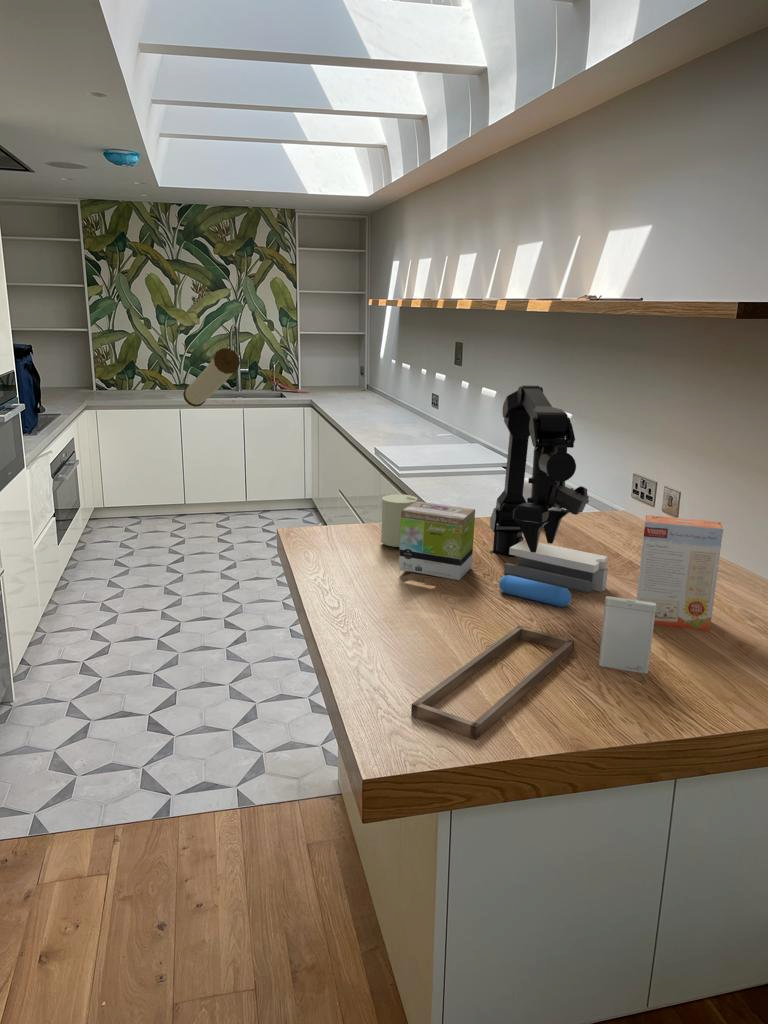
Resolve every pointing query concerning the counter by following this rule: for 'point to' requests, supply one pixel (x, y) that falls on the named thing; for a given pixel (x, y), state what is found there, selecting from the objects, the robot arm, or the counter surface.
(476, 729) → the frame
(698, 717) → the counter surface
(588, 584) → the duct
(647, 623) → the hard drive
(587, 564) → the duct lid
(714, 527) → the cracker box
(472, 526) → the tea box
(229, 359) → the rolling pin
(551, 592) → the blue pill shape
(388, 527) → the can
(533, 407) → the robot arm
